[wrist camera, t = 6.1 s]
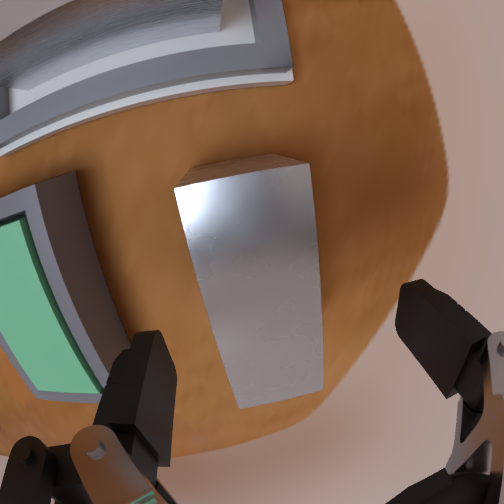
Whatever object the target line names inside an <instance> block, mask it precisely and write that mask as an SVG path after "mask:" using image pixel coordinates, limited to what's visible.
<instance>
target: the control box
mask: <svg viewBox="0 0 504 504" xmlns="http://www.w3.org/2000/svg"><path fill="white" fill-rule="evenodd" d="M25 214H26V216H27V220H28V223H29V227H30V230H31V233H32V237H33V240H34V243H35V246H36V249H37V252H38V255H39V258H40V261H41V264H42V266H43V269H44V272H45V274H46V277H47V279H48V282H49V284H50V287H51V289H52V292H53V294H54V296H55V299H56V301H57V303H58V306H59V308H60V310H61V312H62V314H63V316H64V319H65V321H66V323H67V325H68V327H69V329H70V331H71V333H72V335H73V337H74V339H75V340H76V342H77V344H78V346H79V348H80V350H81V352H82V353H83V355H84V357H85V359H86V360H87V362H88V364H89V366H90V367H91V369H92V371H93V372H94V374H95V376H96V377H97V379H98V380H99V382H100V384H101V385H102V388H101V391H100V394H89V393H66V392H51V391H40V390H38V389H37V388H36V387H35V385H34V384H33V383H32V381H31V380H30V378H29V377H28V375H27V374H26V372H25V371H24V369H23V368H22V366H21V365H20V363H19V362H18V360H17V359H16V357H15V355H14V354H13V352H12V351H11V349H10V347H9V346H8V344H7V342H6V340H5V339H4V337H3V335H2V333H1V331H0V345H1V347H2V349H3V350H4V352H5V353H6V355H7V357H8V358H9V360H10V361H11V363H12V365H13V366H14V368H15V369H16V371H17V372H18V373H19V375H20V376H21V378H22V379H23V381H24V382H25V383H26V385H27V386H28V388H29V389H30V390H31V392H32V393H33V394H34V396H35V397H36V398H37V399H44V400H53V401H64V402H79V403H100V400H101V397H102V394H103V390H104V387H105V386H106V382H107V379H108V376H109V375H110V370H111V367H112V364H113V362H114V360H115V359H116V357H117V356H118V355H119V354H120V353H121V352H122V350H123V349H130V346H131V343H130V341H129V338H128V336H127V334H126V332H125V329H124V327H123V325H122V322H121V320H120V317H119V315H118V313H117V310H116V308H115V305H114V302H113V300H112V297H111V295H110V292H109V289H108V286H107V284H106V281H105V278H104V275H103V272H102V269H101V266H100V263H99V260H98V257H97V254H96V251H95V248H94V244H93V241H92V238H91V234H90V231H89V227H88V223H87V220H86V216H85V212H84V208H83V204H82V200H81V195H80V191H79V186H78V182H77V177H76V172H75V171H72V172H69V173H66V174H63V175H60V176H57V177H54V178H51V179H48V180H45V181H42V182H39V183H36V184H33V185H31V186H28V187H26V188H23V189H21V190H18V191H16V192H14V193H11V194H9V195H7V196H4V197H2V198H0V224H1V223H3V222H6V221H9V220H11V219H14V218H17V217H20V216H23V215H25Z"/></svg>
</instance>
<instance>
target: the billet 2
mask: <svg viewBox="0 0 504 504" xmlns="http://www.w3.org/2000/svg"><path fill="white" fill-rule="evenodd" d="M174 190H175V195H176V199H177V203H178V207H179V211H180V216H181V220H182V224H183V228H184V232H185V235H186V239H187V243H188V247H189V251H190V255H191V258H192V262H193V266H194V269H195V273H196V276H197V280H198V283H199V287H200V290H201V294H202V297H203V301H204V304H205V307H206V311H207V314H208V317H209V321H210V324H211V327H212V330H213V333H214V337H215V340H216V343H217V346H218V349H219V352H220V355H221V358H222V361H223V364H224V367H225V370H226V373H227V376H228V379H229V382H230V385H231V388H232V390H233V393H234V396H235V399H236V402H237V404H238V407H239V409H242V408H247V407H253V406H258V405H263V404H268V403H272V402H277V401H281V400H285V399H290V398H294V397H298V396H302V395H306V394H309V393H313V392H317V391H320V390H323V331H322V304H321V284H320V268H319V254H318V241H317V230H316V219H315V209H314V199H313V190H312V181H311V173H310V165H309V163H306V162H303V161H299V160H296V159H292V158H288V157H285V156H281V155H277V154H273V153H268V154H262V155H256V156H250V157H244V158H239V159H233V160H228V161H223V162H218V163H213V164H208V165H203V166H199V167H194V168H190V169H189V171H188V172H187V173H186V174H185V175H184V177H183V178H182V179H181V180H180V182H179V183H178V184H177V185H176V187H175V188H174Z"/></svg>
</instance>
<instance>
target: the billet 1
mask: <svg viewBox="0 0 504 504" xmlns="http://www.w3.org/2000/svg"><path fill="white" fill-rule="evenodd" d="M221 11H222V0H0V87H6V88H14V89H21V90H27V91H29V90H30V89H32V88H34V87H36V86H38V85H40V84H42V83H44V82H46V81H48V80H50V79H52V78H55V77H57V76H59V75H61V74H63V73H66V72H68V71H70V70H73V69H75V68H78V67H80V66H83V65H85V64H88V63H91V62H93V61H96V60H99V59H102V58H105V57H108V56H111V55H114V54H117V53H120V52H123V51H127V50H130V49H134V48H137V47H141V46H145V45H149V44H153V43H157V42H162V41H166V40H171V39H176V38H181V37H187V36H193V35H199V34H206V33H213V32H220V23H221Z"/></svg>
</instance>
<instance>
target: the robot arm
mask: <svg viewBox="0 0 504 504" xmlns="http://www.w3.org/2000/svg"><path fill="white" fill-rule="evenodd" d="M395 326H396V331H397V334H398V336H399V337H400V338H401V340H402V341H403V342H404V343H405V345H406V346H407V347H408V348H409V350H410V351H411V352H412V354H413V355H414V356H415V358H416V359H417V360H418V362H419V363H420V364H421V365H422V367H423V368H424V369H425V371H426V372H427V373H428V374H429V376H430V377H431V379H432V380H433V381H434V383H435V384H436V385H437V387H438V388H439V390H440V391H441V392H442V394H443V395H444V396H445V398H446V399H447V398H449V397H451V396H453V395H455V394H457V393H459V394H460V395H461V397H460V399H459V401H458V410H457V423H456V431H455V440H454V447H453V451H452V454H451V456H450V458H449V460H448V462H447V464H446V467H445V468H443V469H441V470H440V471H438V472H436V473H434V474H433V475H431V476H429V477H427V478H425V479H424V480H421V481H420V482H417V483H415V484H413V485H411V486H409V487H408V488H406V489H405V490H404V491H402V492H401V493H400V494H398V495H397V496H396V497H395V498H393V499H392V500H390V501H389V502H387V503H386V504H504V332H495V333H493V334H492V333H491V332H489V331H488V330H487V329H486V328H485V327H484V326H483V325H482V324H481V323H480V322H478V320H476V319H475V318H474V317H473V316H472V315H471V314H470V313H468V312H467V311H465V309H464V308H463V307H461V305H459V304H457V302H456V301H455V300H454V299H452V298H451V297H450V296H449V295H447V294H445V293H443V292H441V291H439V290H436V289H435V288H433V287H432V286H431V285H430V284H429V283H427V282H426V281H425V280H423V279H419V280H415V281H412V282H408V283H404V284H403V285H402V286H401V288H400V293H399V300H398V308H397V313H396V319H395ZM176 386H177V375H176V369H175V366H174V363H173V361H172V358H171V356H170V353H169V351H168V349H167V346H166V343H165V341H164V338H163V336H162V334H161V332H160V331H159V330H154V331H145V332H136V333H135V335H134V338H133V340H132V343H131V346H130V349H123V350H122V352H121V353H120V354H119V355H118V356H117V357H116V359H115V360H114V362H113V364H112V367H111V370H110V375H109V376H108V379H107V382H106V386H105V387H104V390H103V394H102V397H101V400H100V403H99V406H98V409H97V412H96V416H95V419H94V422H93V425H91V426H87V427H85V428H83V429H82V430H80V431H79V432H78V433H77V434H76V435H75V436H74V438H73V439H72V442H71V443H70V444H65V445H59V446H53V447H47V446H46V445H45V444H44V443H43V442H42V441H41V440H40V439H38V438H36V437H33V436H27V437H24V438H22V439H20V440H19V441H17V442H16V443H15V445H14V446H13V448H12V450H11V453H10V456H9V459H8V462H7V466H6V469H5V473H4V476H3V480H2V484H1V488H0V504H50V503H51V498H53V499H54V500H55V504H179V503H178V502H177V501H176V500H175V499H174V498H173V497H172V495H171V494H170V493H169V492H168V490H167V489H166V488H165V487H164V486H163V484H162V483H161V482H160V481H159V479H158V478H157V467H158V466H160V467H170V458H171V443H172V429H173V417H174V406H175V396H176Z"/></svg>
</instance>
